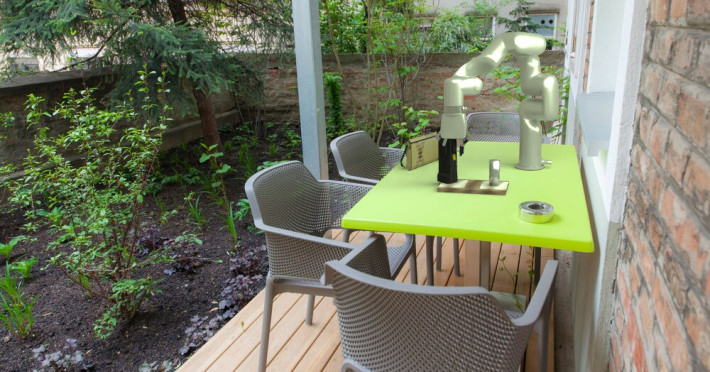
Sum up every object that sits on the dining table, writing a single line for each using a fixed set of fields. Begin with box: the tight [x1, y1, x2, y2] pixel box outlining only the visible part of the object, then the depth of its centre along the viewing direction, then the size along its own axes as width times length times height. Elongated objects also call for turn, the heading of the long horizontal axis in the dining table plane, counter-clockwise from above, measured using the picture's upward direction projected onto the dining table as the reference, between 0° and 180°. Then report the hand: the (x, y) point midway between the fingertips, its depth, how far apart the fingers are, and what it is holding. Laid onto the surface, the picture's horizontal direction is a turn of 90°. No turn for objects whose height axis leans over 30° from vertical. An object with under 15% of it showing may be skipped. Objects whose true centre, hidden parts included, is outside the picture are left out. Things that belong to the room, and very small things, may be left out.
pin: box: [488, 158, 501, 186], centre depth 196 cm, size 4×4×10 cm
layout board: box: [437, 178, 510, 196], centre depth 200 cm, size 26×16×2 cm, turn 69°
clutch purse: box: [399, 131, 438, 172], centre depth 243 cm, size 30×7×15 cm, turn 140°
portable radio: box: [436, 124, 459, 184], centre depth 202 cm, size 8×6×25 cm
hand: (453, 155), depth 199 cm, fingers open, 5 cm apart
